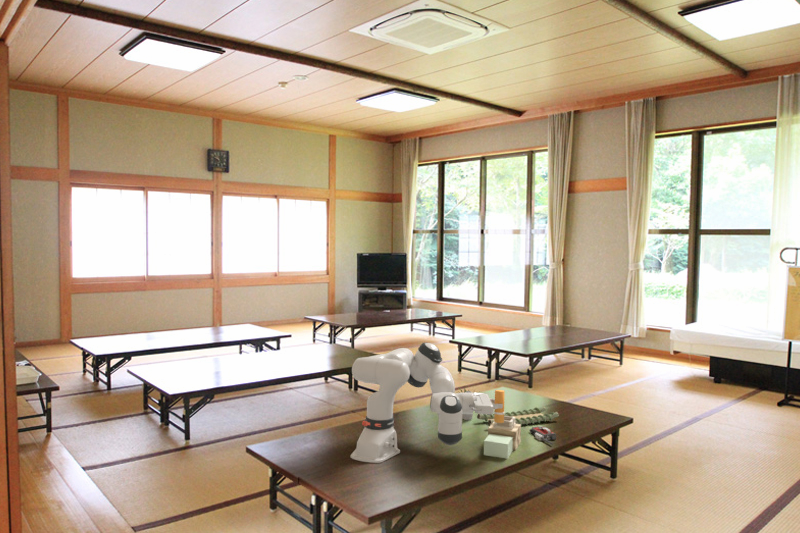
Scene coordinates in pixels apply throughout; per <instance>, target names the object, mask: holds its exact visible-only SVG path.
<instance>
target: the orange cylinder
mask: <svg viewBox="0 0 800 533" xmlns="http://www.w3.org/2000/svg"><path fill="white" fill-rule="evenodd" d="M505 395H506V394H505V390H502V389H496V390H494V399H495V404H498V403H502V405H503V408H498V409H494V411H493V414H494V422H496V423H504V414H505V413H506V412H505Z"/></svg>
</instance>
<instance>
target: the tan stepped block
mask: <svg viewBox="0 0 800 533" xmlns="http://www.w3.org/2000/svg"><path fill="white" fill-rule="evenodd" d="M489 434H495V435H502V436H509V437H513V451H516V450H517V449H518V447H519V446H520V444H521V442H522V441H521V439H522V438H521V436H522V426H521V424H516V423H515V417H510V416H504V423H496V422H493V423H492V424H491V425H489V427H488V428H487V436H488V435H489Z"/></svg>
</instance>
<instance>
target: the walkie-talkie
mask: <svg viewBox="0 0 800 533" xmlns="http://www.w3.org/2000/svg"><path fill="white" fill-rule="evenodd" d="M529 432H530V433H531V434H532V435H533V436H535V439H537V440H538V441H540V442H541V441H542V442H545V443H547V444H549V445H552V446H553V442H551V441H552V440H553V441H554V440H556V439H557V434H556V433H555V432H554V431H553V432H552V430H551V429H550V428H548V427H543V426H542V425H541V426H540V425H539V426H532V427H531V429H529Z"/></svg>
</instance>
